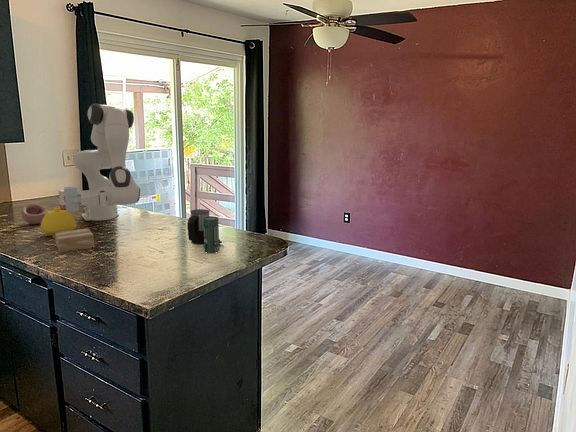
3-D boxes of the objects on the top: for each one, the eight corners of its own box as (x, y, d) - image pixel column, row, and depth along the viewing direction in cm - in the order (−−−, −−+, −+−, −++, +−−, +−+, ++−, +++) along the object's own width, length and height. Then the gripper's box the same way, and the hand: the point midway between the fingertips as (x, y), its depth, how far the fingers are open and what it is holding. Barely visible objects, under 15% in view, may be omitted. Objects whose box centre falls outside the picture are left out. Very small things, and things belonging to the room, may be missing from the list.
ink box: (63, 209, 270) (61, 191, 268) (59, 208, 274) (57, 190, 271) (77, 208, 277) (75, 189, 274) (73, 206, 280) (72, 188, 277)
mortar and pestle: (28, 227, 227) (25, 206, 224) (18, 224, 234) (16, 203, 231) (52, 223, 236) (49, 202, 234) (42, 220, 243) (39, 200, 241)
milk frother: (194, 238, 210) (192, 208, 207) (226, 239, 210) (225, 209, 206) (185, 247, 196) (184, 215, 193) (220, 248, 196) (219, 216, 192)
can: (208, 248, 194) (207, 216, 191) (221, 249, 193) (220, 217, 189) (202, 252, 189) (201, 219, 185) (215, 254, 187) (214, 220, 184)
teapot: (32, 233, 216) (28, 206, 213) (64, 227, 228) (61, 202, 225) (50, 241, 204) (47, 212, 201) (83, 234, 216) (80, 207, 212)
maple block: (56, 244, 199) (54, 232, 197) (89, 240, 206) (88, 228, 205) (60, 252, 187) (58, 239, 186) (94, 247, 195) (93, 235, 194)
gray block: (66, 208, 195) (64, 186, 193) (79, 208, 197) (77, 186, 195) (66, 211, 191) (64, 188, 188) (79, 210, 193) (76, 187, 190)
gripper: (102, 186, 206) (69, 188, 201) (103, 193, 188) (67, 195, 183) (103, 199, 208) (71, 201, 202) (104, 207, 190) (69, 210, 184)
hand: (69, 198), depth 192 cm, fingers closed on gray block, 5 cm apart
